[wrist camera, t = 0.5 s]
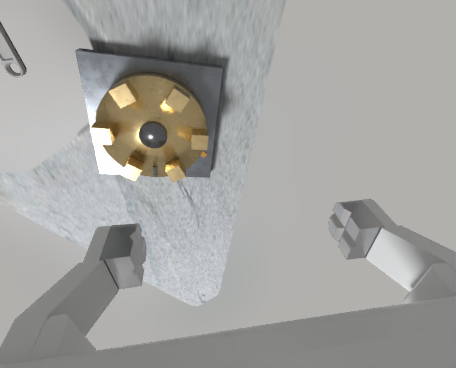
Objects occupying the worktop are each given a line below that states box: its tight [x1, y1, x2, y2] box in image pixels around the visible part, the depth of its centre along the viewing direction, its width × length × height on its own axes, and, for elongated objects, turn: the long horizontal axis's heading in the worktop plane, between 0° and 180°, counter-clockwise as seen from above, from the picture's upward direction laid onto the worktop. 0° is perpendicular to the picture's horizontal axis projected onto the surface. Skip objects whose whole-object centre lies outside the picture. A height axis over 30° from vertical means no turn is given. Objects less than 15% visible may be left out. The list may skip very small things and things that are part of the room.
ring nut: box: [90, 73, 209, 182], centre depth 47 cm, size 20×20×6 cm
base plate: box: [75, 48, 223, 177], centre depth 50 cm, size 24×24×2 cm
